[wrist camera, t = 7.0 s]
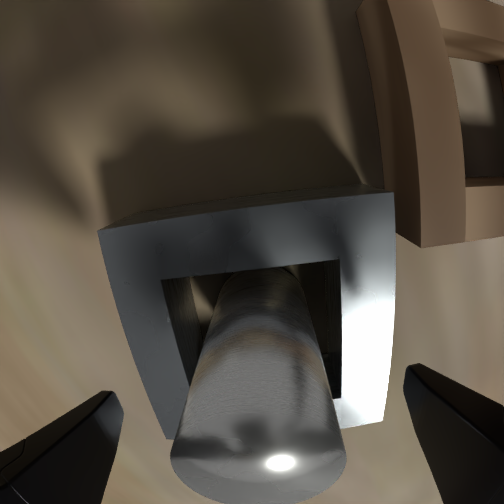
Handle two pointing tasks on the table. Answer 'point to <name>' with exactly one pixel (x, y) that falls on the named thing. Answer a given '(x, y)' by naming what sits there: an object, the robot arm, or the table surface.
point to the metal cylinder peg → (259, 400)
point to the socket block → (431, 114)
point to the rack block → (257, 257)
